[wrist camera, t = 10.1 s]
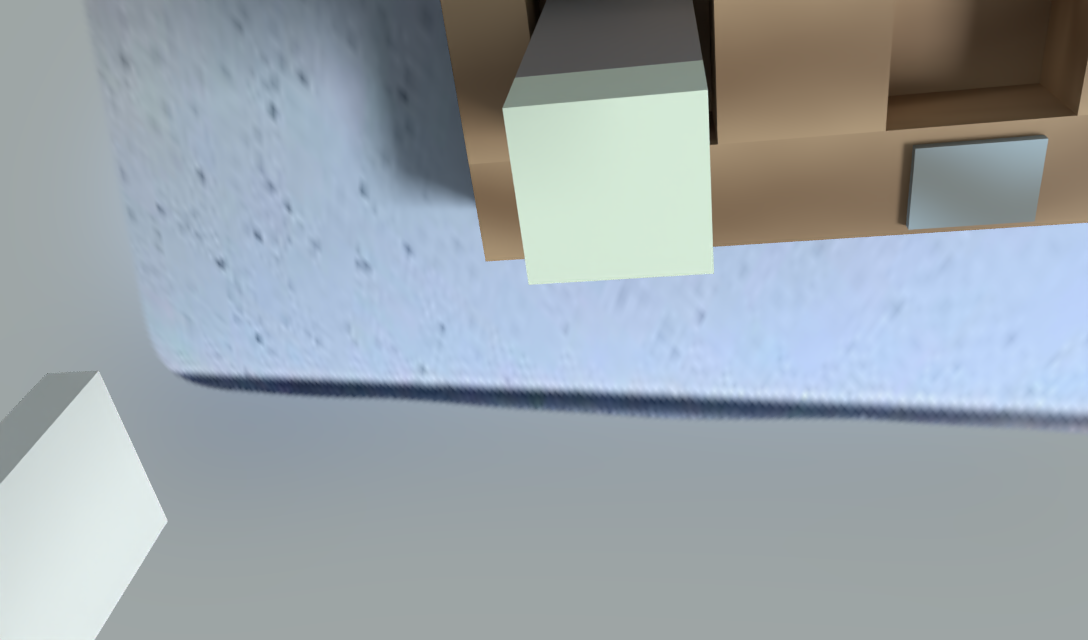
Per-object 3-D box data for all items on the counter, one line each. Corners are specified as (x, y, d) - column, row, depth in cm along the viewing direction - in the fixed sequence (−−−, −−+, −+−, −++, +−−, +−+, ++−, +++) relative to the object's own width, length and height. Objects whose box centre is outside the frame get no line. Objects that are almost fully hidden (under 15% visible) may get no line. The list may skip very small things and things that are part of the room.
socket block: (444, -156, 28) (412, -142, 24) (1171, -253, 25) (1261, -253, 21) (502, 210, 34) (484, 265, 30) (1089, 167, 31) (1148, 223, 27)
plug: (554, -20, 28) (502, 108, 18) (686, -35, 28) (707, 89, 18) (568, 106, 30) (528, 284, 20) (691, 95, 30) (713, 273, 20)
